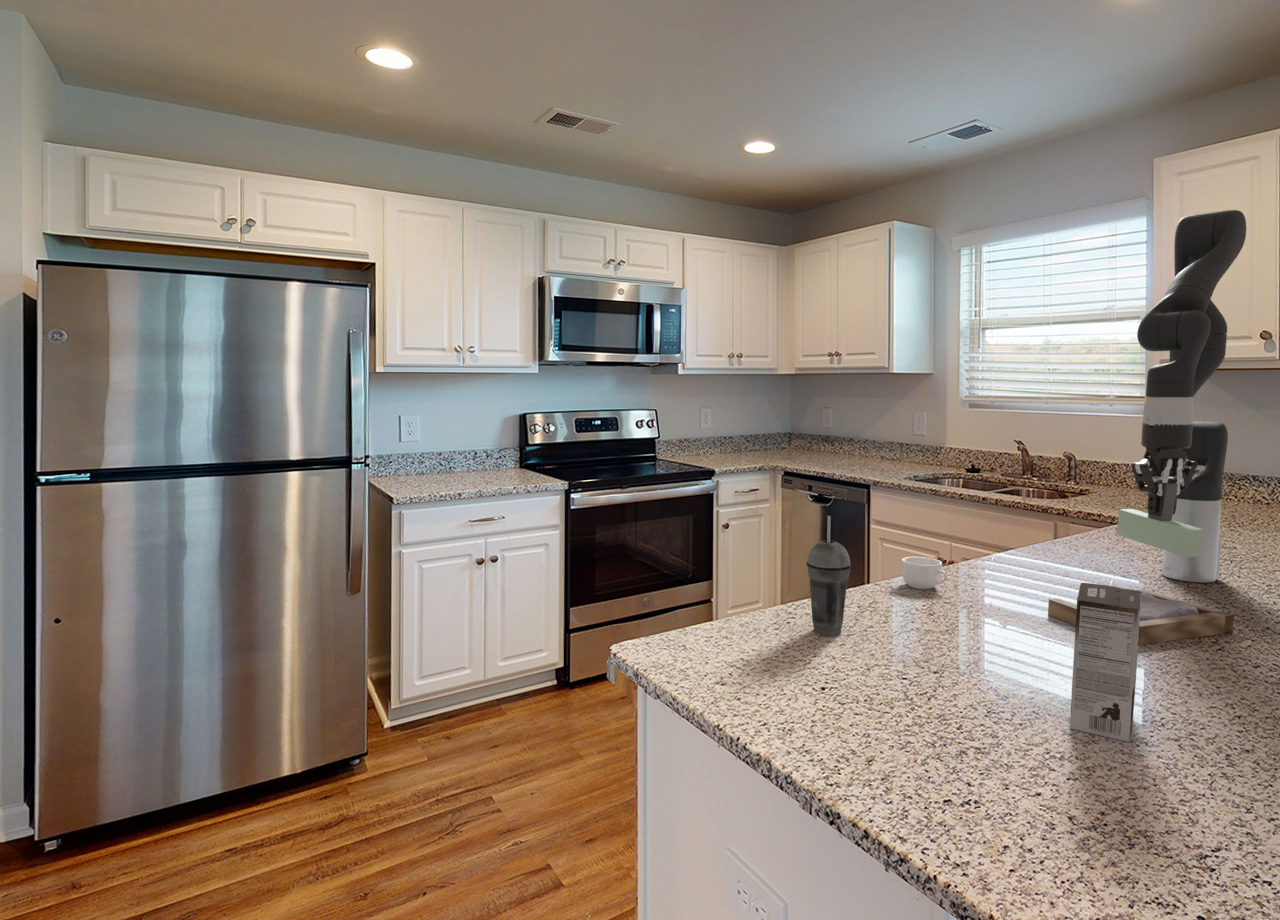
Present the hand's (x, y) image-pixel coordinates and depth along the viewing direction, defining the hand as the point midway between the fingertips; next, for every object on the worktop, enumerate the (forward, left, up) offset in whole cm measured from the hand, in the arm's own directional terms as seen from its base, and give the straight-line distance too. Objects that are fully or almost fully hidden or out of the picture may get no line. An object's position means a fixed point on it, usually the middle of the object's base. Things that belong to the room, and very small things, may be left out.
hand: (1161, 514), depth 135 cm
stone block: (+10, +7, -18) cm, 21 cm away
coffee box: (+52, +35, -17) cm, 65 cm away
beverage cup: (+67, -4, -17) cm, 69 cm away
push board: (0, -1, -6) cm, 6 cm away
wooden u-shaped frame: (+14, +7, -17) cm, 23 cm away
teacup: (+34, -22, -17) cm, 44 cm away
